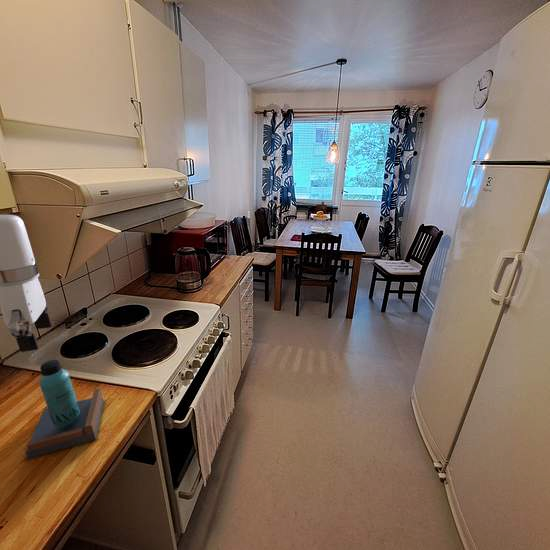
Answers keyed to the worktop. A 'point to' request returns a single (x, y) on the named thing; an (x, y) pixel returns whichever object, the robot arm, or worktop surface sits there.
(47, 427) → the blue square tray
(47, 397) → the beverage bottle
